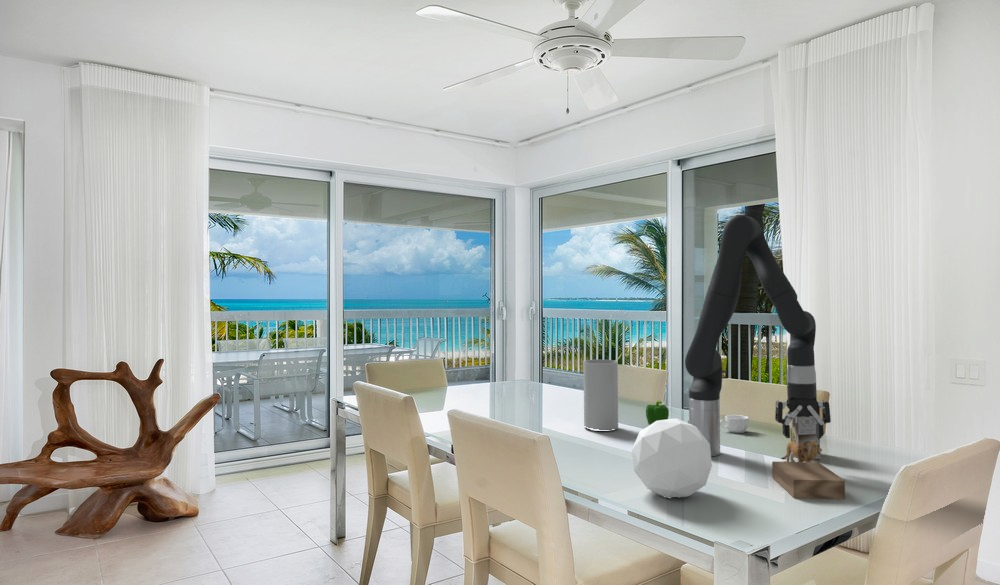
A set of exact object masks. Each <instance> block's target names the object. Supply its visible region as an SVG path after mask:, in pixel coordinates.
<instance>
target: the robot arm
mask: <svg viewBox="0 0 1000 585" xmlns="http://www.w3.org/2000/svg"><path fill="white" fill-rule="evenodd" d="M722 229H723V231H722V233H721V234H722V235H721V241H720V246H719V250H718V255H717V259H716V263H715V265H714V268H713V273H712V275H711V278H710V280H709V281H710V282H709V285H708V287H707V290H706V291H707V292H706V294H705V298H704V299H703V300H704V301H703V304H702V305H703V306H702V309H701V312H700V316H699V320H698V323H697V327H696V330H695V333H694V336H693V338H692V341H691V343H690V346H689V347H688V351H687V352H686V356H685V359H684V365H685V370H686V371H687V373H688V375H690V376H691V377H692V383H691V385H690V387H689V389H688V420H687V423H689V424H691V425H694V426H696V427H697V428H698V430H699V431H700V432H701V433H702V435H703V436H704V437H705V439H706V440H707V441H708V443H709V444H710V451H711V457H716V456H719V454H720V455H721V425H720V421H721V412H720V411H721V407H720V405H721V402H720V401H721V399H720V398H721V397H720V396H721V392H722V391H721V390H722V388H723V359H722V357H721V356H722V355H721V354H720V352H719V351H718V350H717V346H718V343H719V340H720V337H721V335H722V333H723V331H724V330H725V328H726V327H727V325H728V324H729V322H730V320H731V318H732V317H733V315H734V312H735V309H736V307H737V303H738V300H739V298H740V292H741V286H742V282H741V281H742V266H743V265H742V264H743V261H744V257H745V255H747V256H748V258H749V260H750V261H751V262H752V264H753V267H754V269H755V271H756V274H757V277H758V280H759V282H760V284H761V287H762V289H763V291H764V292H765V294H766V295H767V297H768V299H769V300H770V302H771V303H772V305H773V307H774V309H775V311H776V313H777V317H778V318H779V321H780V323H781V325H782V327H783V328H784V330H785V331H786V332H787V333H788V334H789V345H788V347H787V351H786V355H787V356H786V358H787V360H786V361H787V362H786V363H787V366H786V385H787V386H786V390H787V400H786V401H780V400H776V401H775V411H774V412H775V415H774V419H775V421H776V422H778V423H779V424H782V435H783V436H784V437H785V438H787V439H791V421H792V420H793V419H794V418H795V416H797V417H803V416H805V417H810V416H811V417H813V419H814V420H815V421H816V422H817V424H816V437H817V438H820V439H822V438H823V437H824V435H825V434H824V426H825V425H826V424H831V421H832V420H831V409H830V403H829V401H826V400H821V401H818V399H817V398H818V397H817V395H818V394H817V391H818V390H817V370H816V366H815V365H816V363H815V342H816V335H817V334H816V331H817V325H816V319H815V317H814V316H813V314H812V313H810V312H808V311H806V310H804V309H803V307H802V306H801V304H800V302H799V300H798V293H797V292H796V290H795V289H794V287H793V285H792V284H791V282H790V281H789V278H787V276H786V274H785V273H784V271H783V270H782V268H781V266H780V265H779V263H778V261H777V260H776V258H775V256H774V254H773V253H772V250H771V248H770V247H769V246H770V245H769V243H768V242H767V239H766V236H765V234H764V231H763V229H762V227H761V224H760V223H759V221H758V220H757V219H756V218H754V217H752V216H747V215H745V214H736V215H734V216H731V217H730V218H729V219H728V220H727V221H726V222H725V225H723V228H722ZM818 406H820V410H821V412H822V417H821V415H820V416H819V415H818V414H817V413H816V412H815V410H816V409H817V407H818ZM786 407H787V409H788V411H787V413H786V414H785V415H784V414H783V413H784V412H783V410H784V409H785V408H786ZM783 415H784V417H783Z"/></svg>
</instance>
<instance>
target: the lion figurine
mask: <svg viewBox="0 0 1000 585" xmlns="http://www.w3.org/2000/svg"><path fill="white" fill-rule="evenodd" d="M822 452H823V449H822V448H821V446H820V447H818V446H817V444H816V442H815V441H806V442H804V443H801V444H800V445H798V444H797V443H796V442H792V441H791V440H790V441H789V442H788V443H787V445H786V455H785V456H783V457H781V458H780V459H781V460H783V461H784V460H786V462H796V461H795V460H794V458H795V459H797V462H813V460H815V459H814V458H816V457H817V455H820V456H821V453H822Z"/></svg>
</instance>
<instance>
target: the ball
mask: <svg viewBox="0 0 1000 585" xmlns="http://www.w3.org/2000/svg"><path fill="white" fill-rule="evenodd" d="M631 452H632V453H631V454H632V461H633V462H632V463H633V471H634V473H635V474H636V476H637V477H638V478H639V479H640V480H641V482H642V483H643V485H644V487H646V488H647V490H649V491H651V492H654V493H655V494H657V495H659V496H661V495H662V496H661V497H663V496H665V497H678V498H685V497H689V496H691V495H693V494H694V493H696V492H697V491H699V490H700V489H701V488H703V487H705V486H706V485H707V482H708V479H709V475H710V473H711V470H712V468H713V462H712V456H711V451H710V444H709V443H708V441H707V440H706V439H705V437H704V436H703V435H702V433H701V432H700V431H699V430H698V428H697V427H696V426H694V425H691V424H689V423H688V422H687V421H683V420H681V419H679V418H676V417H675V418H668V419H666V420H658V421H655V422H654V423H652V424H651V425H649V424H648V426H646V427H645V428H642V430H640V431H638V435H637V438H636V439H635V441H634V444H633V446H632V449H631ZM665 497H664V498H665Z"/></svg>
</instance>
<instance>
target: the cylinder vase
mask: <svg viewBox="0 0 1000 585" xmlns="http://www.w3.org/2000/svg"><path fill="white" fill-rule="evenodd" d="M582 362H583V366H582V367H583V427H584V426H586V427H588V428H593V429H599V430H612V429H617V428H618V429H619V379H618V377H619V376H618V372H619V371H618V370H619V368H618V360H613V359H586V360H583V361H582ZM618 429H617V430H618Z"/></svg>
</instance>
